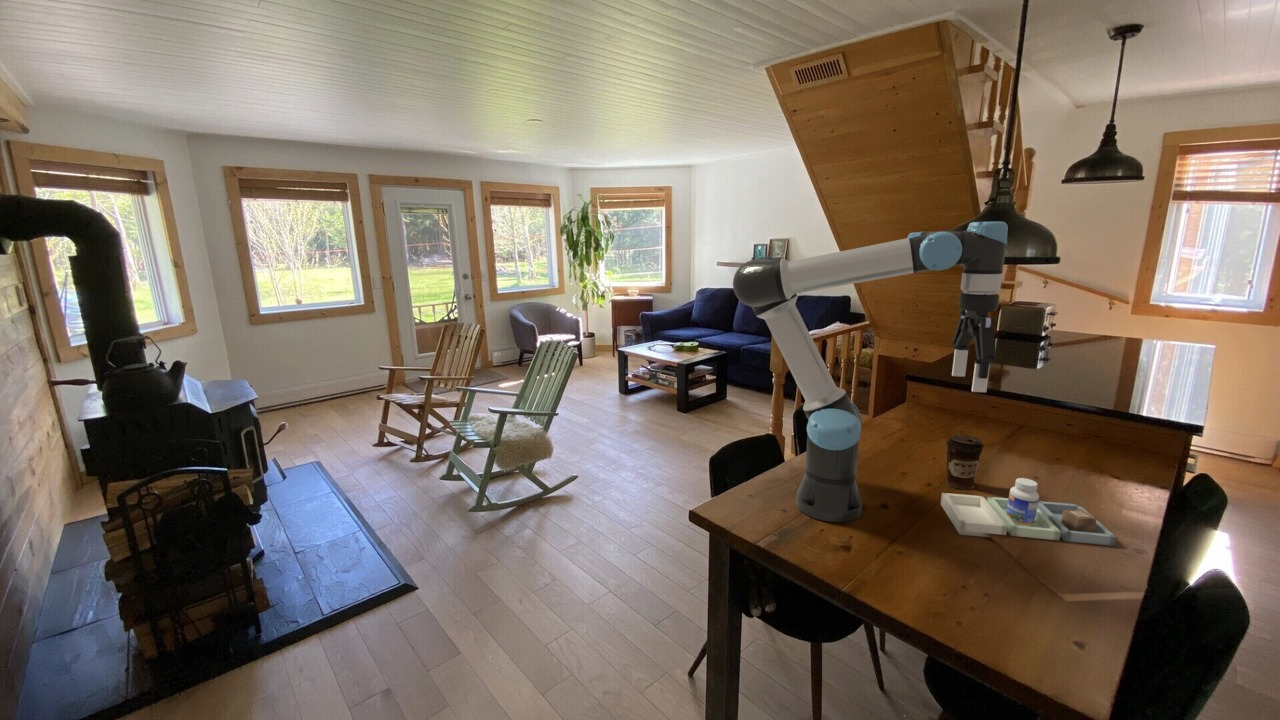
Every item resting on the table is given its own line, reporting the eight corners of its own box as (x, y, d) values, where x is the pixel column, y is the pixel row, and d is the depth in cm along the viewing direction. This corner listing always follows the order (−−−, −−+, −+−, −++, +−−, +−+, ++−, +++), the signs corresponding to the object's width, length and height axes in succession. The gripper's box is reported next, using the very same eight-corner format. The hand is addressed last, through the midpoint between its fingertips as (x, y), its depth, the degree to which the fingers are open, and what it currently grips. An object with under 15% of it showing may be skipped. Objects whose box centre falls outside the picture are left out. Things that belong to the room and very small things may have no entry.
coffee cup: (984, 494, 135) (991, 446, 132) (948, 491, 137) (954, 444, 134) (970, 478, 143) (977, 433, 140) (937, 476, 145) (942, 432, 142)
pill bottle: (999, 517, 122) (1005, 478, 120) (1016, 513, 124) (1023, 474, 122) (1022, 529, 117) (1029, 488, 115) (1040, 524, 119) (1047, 485, 117)
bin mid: (1010, 539, 115) (1012, 527, 114) (985, 508, 128) (987, 496, 128) (1058, 544, 113) (1060, 531, 112) (1028, 511, 126) (1030, 500, 126)
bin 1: (959, 534, 117) (961, 522, 117) (940, 503, 131) (941, 492, 130) (1005, 539, 115) (1007, 526, 115) (981, 507, 129) (982, 496, 128)
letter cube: (1075, 536, 114) (1078, 518, 113) (1060, 526, 118) (1063, 509, 117) (1093, 535, 114) (1096, 518, 113) (1077, 525, 118) (1081, 509, 117)
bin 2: (1064, 545, 113) (1066, 532, 112) (1033, 512, 126) (1035, 500, 125) (1113, 550, 111) (1116, 537, 110) (1077, 516, 124) (1079, 504, 123)
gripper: (1023, 299, 106) (1008, 400, 111) (977, 287, 130) (967, 370, 135) (982, 298, 108) (969, 398, 113) (944, 286, 132) (934, 369, 137)
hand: (968, 383), depth 124 cm, fingers open, 13 cm apart
